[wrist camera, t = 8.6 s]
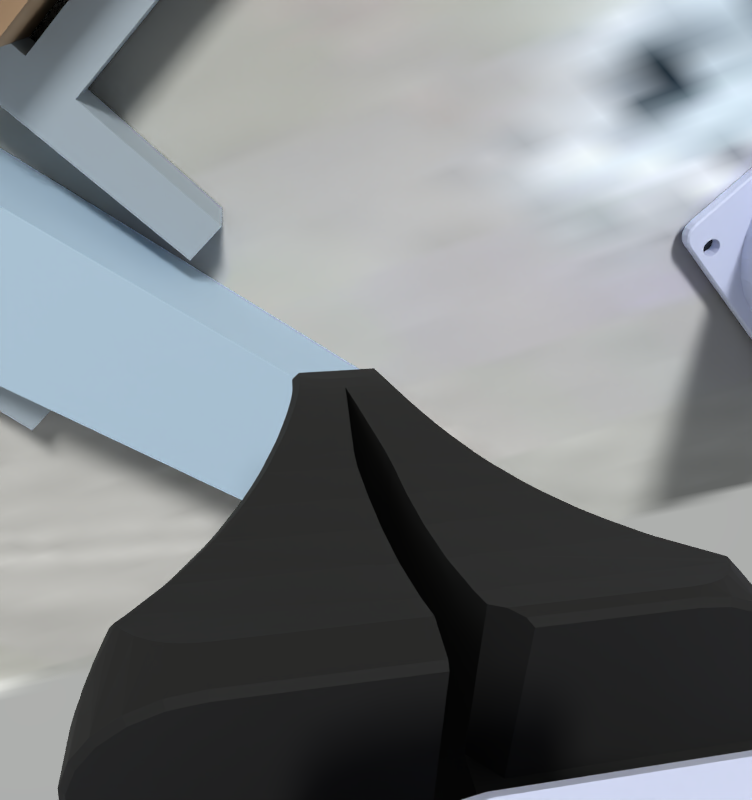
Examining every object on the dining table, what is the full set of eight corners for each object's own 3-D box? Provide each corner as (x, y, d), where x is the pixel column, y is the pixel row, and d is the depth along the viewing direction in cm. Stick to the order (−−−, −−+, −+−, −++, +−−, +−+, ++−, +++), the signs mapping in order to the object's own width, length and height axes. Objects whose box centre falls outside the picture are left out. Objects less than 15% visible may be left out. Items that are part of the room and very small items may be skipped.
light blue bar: (367, 370, 23) (387, 431, 20) (294, 459, 24) (302, 529, 21) (-18, 132, 17) (-68, 166, 15) (-86, 261, 19) (-145, 317, 16)
